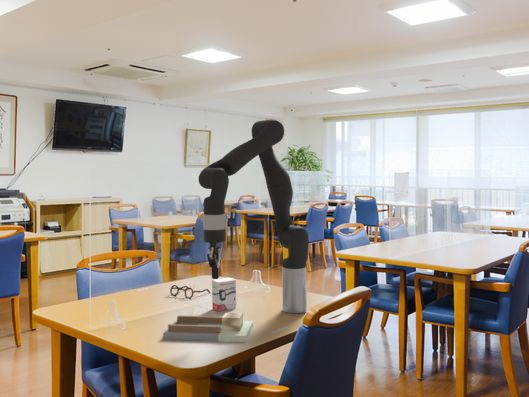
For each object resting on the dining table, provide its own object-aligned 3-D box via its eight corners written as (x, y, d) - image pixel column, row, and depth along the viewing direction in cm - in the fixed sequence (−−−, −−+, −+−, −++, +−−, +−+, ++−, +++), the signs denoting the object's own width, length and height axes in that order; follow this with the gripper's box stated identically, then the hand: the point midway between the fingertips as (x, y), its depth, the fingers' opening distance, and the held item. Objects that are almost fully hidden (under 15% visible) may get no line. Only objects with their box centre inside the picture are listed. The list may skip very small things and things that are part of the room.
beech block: (243, 325, 176) (243, 312, 176) (239, 331, 170) (239, 317, 170) (226, 325, 177) (225, 312, 177) (222, 330, 171) (221, 317, 171)
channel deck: (253, 326, 181) (253, 315, 181) (245, 342, 165) (245, 329, 165) (177, 324, 185) (177, 313, 185) (163, 339, 169) (162, 327, 169)
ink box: (217, 311, 201) (217, 282, 200) (211, 308, 205) (211, 279, 204) (236, 308, 205) (236, 279, 204) (230, 305, 209) (230, 277, 209)
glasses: (169, 296, 228) (169, 284, 227) (189, 290, 239) (189, 279, 238) (192, 300, 221) (192, 288, 220) (211, 293, 231) (211, 282, 231)
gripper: (221, 230, 166) (222, 283, 167) (229, 225, 179) (230, 274, 180) (198, 230, 166) (199, 282, 168) (208, 225, 180) (209, 274, 181)
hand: (215, 278), depth 174 cm, fingers closed
